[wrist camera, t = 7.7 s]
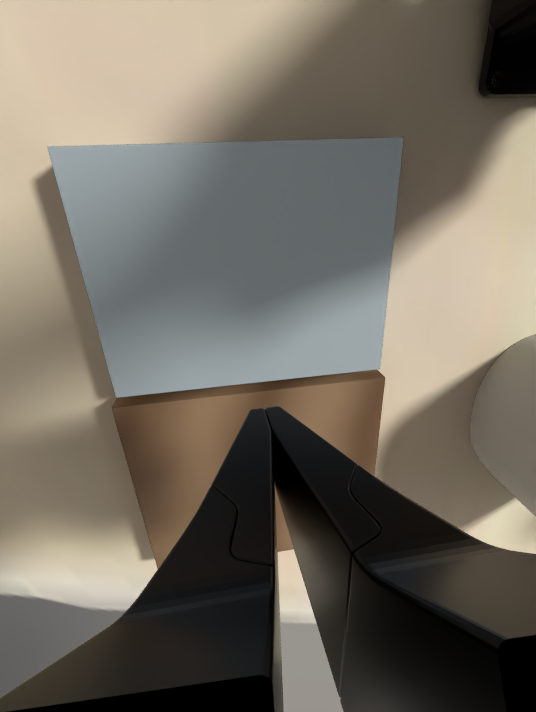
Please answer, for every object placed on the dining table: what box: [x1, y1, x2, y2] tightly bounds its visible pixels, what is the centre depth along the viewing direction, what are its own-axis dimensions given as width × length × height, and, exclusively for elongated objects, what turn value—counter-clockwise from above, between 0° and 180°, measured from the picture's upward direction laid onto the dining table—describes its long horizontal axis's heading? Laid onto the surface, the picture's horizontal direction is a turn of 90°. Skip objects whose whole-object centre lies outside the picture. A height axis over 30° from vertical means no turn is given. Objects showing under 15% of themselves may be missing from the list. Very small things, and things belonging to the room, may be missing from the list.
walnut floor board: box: [112, 369, 385, 568], centre depth 19 cm, size 14×12×2 cm
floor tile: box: [47, 137, 404, 398], centre depth 14 cm, size 13×10×2 cm
